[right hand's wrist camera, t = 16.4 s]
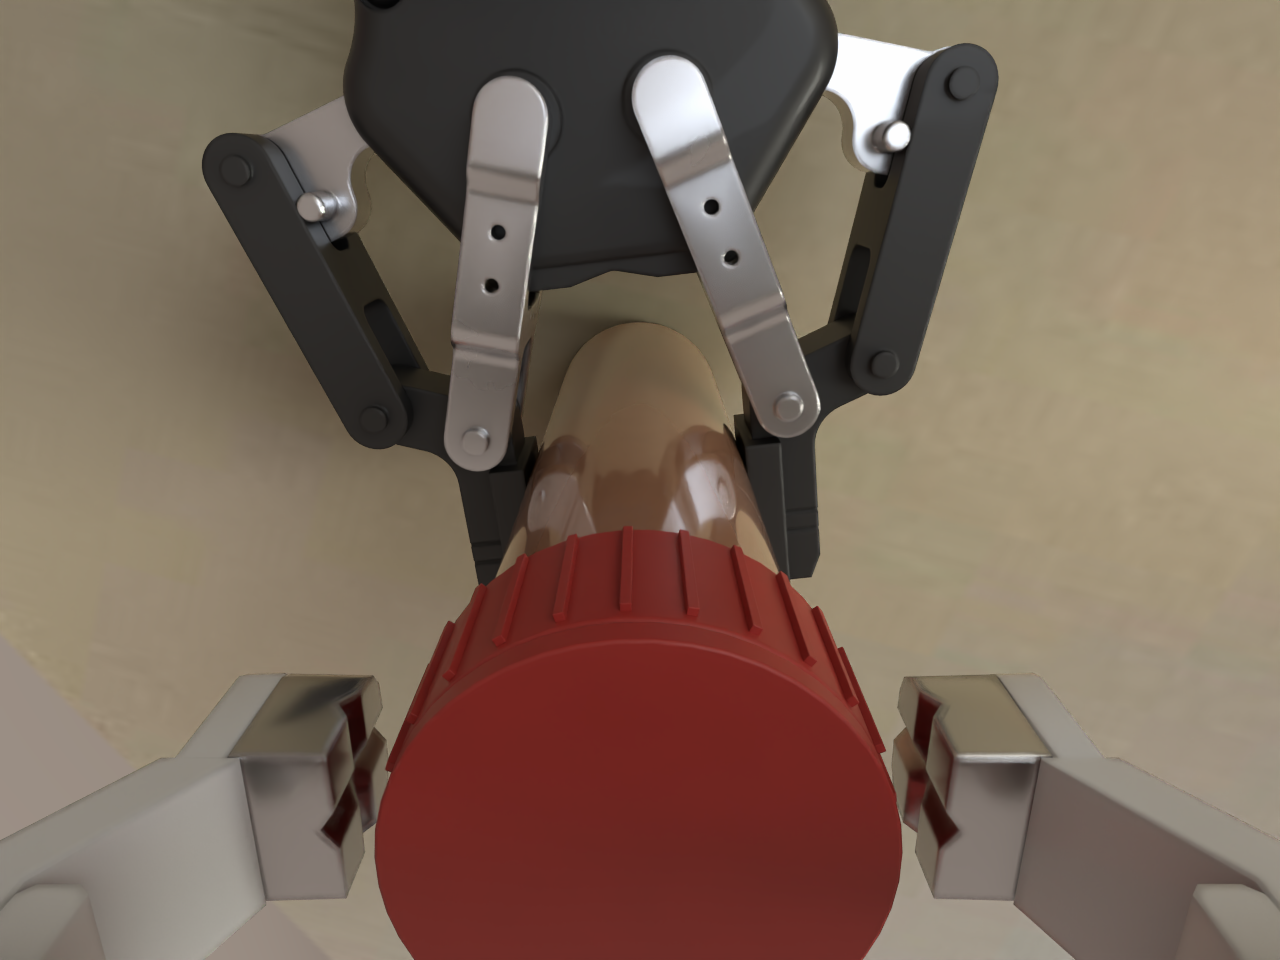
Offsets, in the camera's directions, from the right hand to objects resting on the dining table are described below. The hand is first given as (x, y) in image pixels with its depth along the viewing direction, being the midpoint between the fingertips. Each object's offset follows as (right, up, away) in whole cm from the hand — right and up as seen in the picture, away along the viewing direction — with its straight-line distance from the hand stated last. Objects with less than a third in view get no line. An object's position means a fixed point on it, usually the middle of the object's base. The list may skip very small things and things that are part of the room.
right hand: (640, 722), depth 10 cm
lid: (0, -1, -2) cm, 2 cm away
